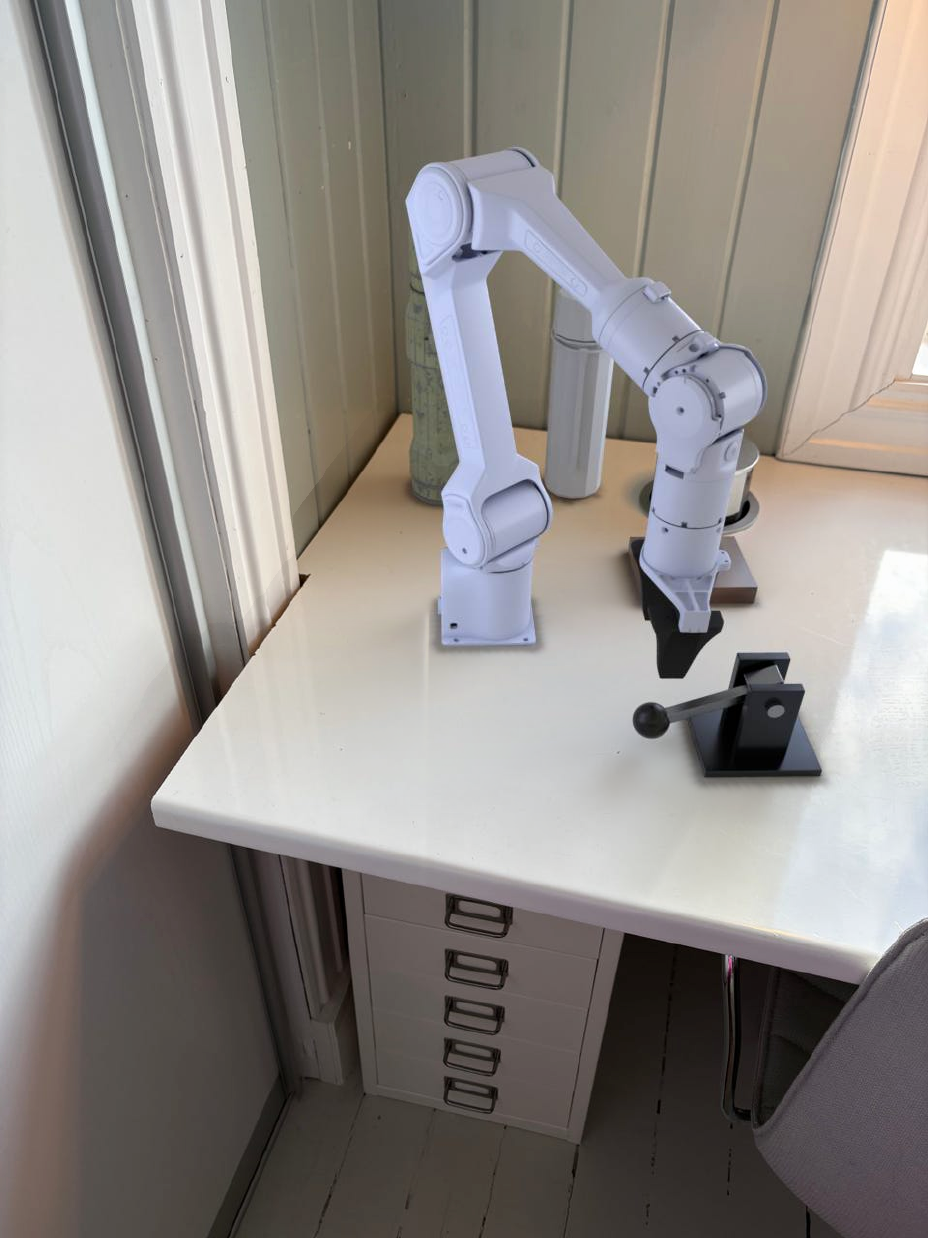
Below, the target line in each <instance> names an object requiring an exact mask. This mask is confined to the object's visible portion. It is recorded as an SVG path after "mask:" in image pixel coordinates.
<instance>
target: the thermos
mask: <svg viewBox="0 0 928 1238" xmlns="http://www.w3.org/2000/svg"><path fill="white" fill-rule="evenodd" d="M407 238H408V239H407V242H408V243H407V244H408V245H407V246H408V271H409V273H410V276H411V277H410V279H411V280H410V284H409V298H408V300H407V304H406V307H405V312H404V319H405V320H404V321H405V323H404V325H405V351H406V352H405V355H406V358H407V360H408V362H409V364H410V378H411V379H410V382H411V385H410V386H411V413H412V415H411V417H412V418H411V419H412V438H411V442H410V445H409V450H408V457H409V458H408V459H409V474H410V476H411V492H412V494H413V496H414V497H415V498H416V499H418V500H419V501H421V502H423V503H425V504H429V505H432V506H433V505H434V506H438V507H439V506H441V507H442V506H443V500H442V496H441V492H442V490H443V488H444V487H445V485H446V484H447V482H448V481H449V479H450V477H451V476H452V474H453V473H454V471H455V470H456V468H457V466H458V464H459V457H458V452H457V447H456V442H455V437H454V432H453V427H452V423H451V418H450V413H449V408H448V403H447V398H446V393H445V389H444V384H443V379H442V374H441V369H440V364H439V359H438V355H437V350H436V345H435V340H434V335H433V330H432V325H431V321H430V316H429V311H428V306H427V301H426V296H425V291H424V286H423V282H422V277H421V273H420V270H419V265H418V260H417V255H416V250H415V245H414V241H413V236H412V231H411V226H410V221H409V220H408V225H407ZM443 507H444V506H443Z"/></svg>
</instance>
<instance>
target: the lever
mask: <svg viewBox="0 0 928 1238" xmlns="http://www.w3.org/2000/svg"><path fill="white" fill-rule="evenodd" d="M744 677H745V681H746V684H745V685H742V686H739V687H735V688H732V689H728V688H727V689H725V690H721V691H718V692H715V693H711V694H708V695H704V696H701V697H698V698H694V699H690V700H687V701H684V702H680V703H677V704H674V705H670V706H667V707H665V706H663V705H662V704H660V703H659V702H654V701H647V702H644V703H642V704H640V705H639V706H638V707H636V709H635V710H634V711H633V714H632V721H631V722H632V725H633V728H634V730H635V732H636V733H637V734H638V735H639V736H640V737H642V738H644V739H648V740H656V739H659V738H661V737H662V736H664V735H665V734H667V732H668V730H669V728H670V725H671V724H674V723H677V722H680V721H685V720H687V719H688V718H691V717H695V716H698V715H702V714H705V713H709V712H712V711H716V710H719V709H723V708H726V707H730V706H733V705H737V704H740V703H744V702H745V698H746V695H747V691H748V687H749V684H785V681H783V679H782V676H781V674H780V672H779V669H778V667H777V665H773V666H770V667H766V668H763V669H759V670H756V671H753V672H749V673H746V674H744Z"/></svg>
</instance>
